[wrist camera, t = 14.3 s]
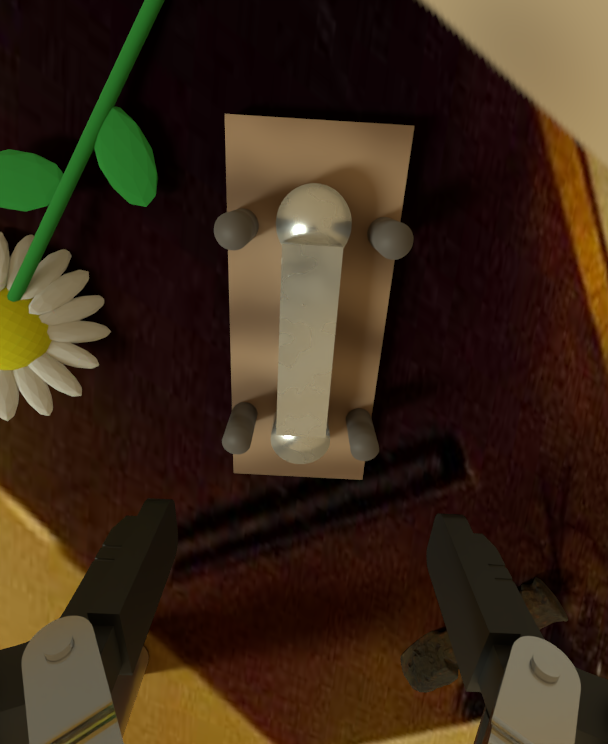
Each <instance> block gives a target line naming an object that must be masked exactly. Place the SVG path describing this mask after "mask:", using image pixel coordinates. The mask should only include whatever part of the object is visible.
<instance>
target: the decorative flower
mask: <svg viewBox="0 0 608 744" xmlns="http://www.w3.org/2000/svg"><path fill="white" fill-rule="evenodd" d="M164 1H165V0H145V1H144V3H143V5H142V7H141V9H140V11H139V13H138V16H137V18H136V20H135V22H134V24H133V26H132V28H131V31H130V33H129V35H128V37H127V39H126V41H125V43H124V46H123V48H122V50H121V52H120V54H119V56H118V58H117V61H116V63H115V65H114V67H113V69H112V71H111V74H110V76H109V78H108V80H107V82H106V84H105V86H104V89H103V91H102V93H101V95H100V97H99V99H98V101H97V104H96V106H95V108H94V110H93V112H92V114H91V116H90V119H89V121H88V123H87V125H86V127H85V129H84V131H83V134H82V136H81V138H80V140H79V142H78V144H77V146H76V149H75V151H74V153H73V155H72V157H71V159H70V161H69V164H68V166H67V168H66V170H65V172H64V174H63V173H62V171H61V170H60V169H59V167H58V166H57V164H55V163H53V162H51V161H49V160H47V159H45V158H43V157H41V156H39V155H36V154H33V153H28V152H22V151H16V150H11V149H8V150H4V151H0V207H1V208H7V209H13V210H20V211H29V210H33V209H37V208H41V207H45V206H48V209H47V211H46V213H45V215H44V217H43V219H42V221H41V224H40V226H39V228H38V230H37V232H36V234H35V236H33V235H28V236H25V237H24V238H23V239H22V240H21V241H20V242H18V243H17V245H16V247H15V249H14V251H13V253H12V255H11V257H10V256H9V248H8V242H7V241H6V239H5V237H4V235H3V233H2V232H0V418H2V419H4V420H6V421H8V420H10V419H11V418H12V417H13V416H14V415H15V412H16V409H17V406H18V399H19V390H20V392H21V393H22V395H23V396H24V397H25V399H26V400H27V402H28V403H29V404H30V405H31V406H32V407H33V408H34V409H35V410H36V411H37V412H38V413H40V414H42V415H47V416H49V415H50V414H51V412H52V410H53V403H52V396H51V393H50V391H49V388H48V385H47V384H49V385H50V386H52V387H53V388H55V389H56V390H58V391H60V392H63V393H65V394H68V395H70V396H72V397H74V396H81V394H82V388H81V386H80V384H79V383H78V381H77V379H76V378H75V377H74V376H73V375H72V374H71V372H70V371H69V370H68V369H67V368H66V367H65V366H64V365H63V364H65V365H69V366H73V367H78V368H90V369H92V368H94V367H97V366H99V363H98V361H97V359H96V358H95V357H94V356H93V355H92V354H90V353H89V352H88V351H86V350H84V349H82V348H80V347H78V346H76V345H74V344H72V343H82V342H91V341H97V340H100V339H102V338H105V337H107V336H108V335H109V334H110V333H111V331H110V330H109V329H108V328H107V327H106V326H104V325H101V324H98V323H95V322H88V321H80V320H82V319H84V318H86V317H88V316H90V315H92V314H94V313H95V312H97V311H98V310H99V309H100V308H101V307H102V306H103V304H104V298H102V297H101V296H99V295H92V296H81V297H76V298H74V297H75V296H76V295H77V294H78V293H79V292H80V291H81V290H82V289H83V288H84V286H85V285H86V283H87V282H88V280H89V272H88V271H84V270H77V271H73V272H70V273H67V274H64V275H62V274H63V272H64V271H65V270H66V269H67V266H68V264H69V262H70V259H71V257H72V256H71V254H70V252H69V251H67V250H65V249H62V250H59V251H56V252H54V253H51V254H49V255H48V256H47V257H46V258H44V259H43V260H42V261H41V262H40V260H41V258H42V256H43V254H44V252H45V250H46V248H47V245H48V243H49V241H50V239H51V237H52V235H53V233H54V231H55V229H56V227H57V225H58V222H59V220H60V218H61V216H62V214H63V212H64V210H65V208H66V206H67V204H68V202H69V199H70V197H71V195H72V193H73V191H74V189H75V187H76V185H77V183H78V181H79V178H80V176H81V174H82V172H83V170H84V168H85V166H86V164H87V162H88V160H89V158H90V155H91V153H92V151H93V149H95V153H96V156H97V160H98V164H99V167H100V169H101V170H102V172H103V173H104V175H105V176H106V178H107V179H108V181H109V183H110V184H111V186H112V187H113V188H114V189H115V190H116V191H117V192H118V193H119V194H120V195H121V196H122V197H123V198H124V199H126V200H127V201H128V202H129V203H130V204H134V205H139V206H145V207H147V205H148V204H149V203H150V202H151V201H152V199H153V198H154V197H155V196H156V190H157V181H158V175H157V170H156V165H155V161H154V156H153V151H152V148H151V146H150V145H149V143H148V141H147V139H146V138H145V136H144V134H143V133H142V131H141V129H140V128H139V126H138V125H137V124H136V122H135V121H134V120H132V119H131V118H130V117H129V116H128V115H127V114H126V113H125V112H124V111H123V110H122V109H121V108H119V107H115V106H114V105H115V103H116V101H117V99H118V97H119V95H120V93H121V91H122V88H123V86H124V84H125V82H126V80H127V78H128V76H129V74H130V72H131V70H132V68H133V65H134V63H135V61H136V59H137V57H138V55H139V53H140V51H141V49H142V47H143V45H144V42H145V40H146V38H147V36H148V34H149V32H150V30H151V28H152V26H153V24H154V21H155V19H156V17H157V15H158V13H159V11H160V9H161V7H162V5H163V3H164ZM39 262H40V263H39ZM61 275H62V276H61ZM61 363H62V364H61Z"/></svg>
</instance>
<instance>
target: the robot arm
mask: <svg viewBox="0 0 608 744" xmlns="http://www.w3.org/2000/svg"><path fill="white" fill-rule="evenodd" d="M177 546H178V531H177V521H176V512H175V503H174V501H173V500H169V499H149V498H148V499H147V500H146V501H145V502H144V504H143V506H142V508H141V510H140V512H139V514H138V516H126V517H125V518H124V519H122V520H121V521H120V522H119V523H118V524H117V525H116V526H115V527H113V528H112V529H111V531H110V533H109V535H108V536H107V538H106V540H105V542H104V543H103V546H102V548H100V550H99V552H98V554H97V555H96V557H95V561H93V562H92V564H91V566H90V568H89V569H88V571H87V573H86V574H85V576H84V578H83V580H82V581H81V583H80V585H79V587H78V588H77V590H76V592H75V594H74V595H73V597H72V599H71V600H70V602H69V604H68V606H67V607H66V609H65V611H64V612H63V614H62V615H61V617H60V618H59V619H57V620H55V621H53V622H51V623H49V624H48V625H46V626H45V627H43V628H42V629H41V630H40V631H39V632H37V633H36V635H35V636H34V637H33V638H32V639H31V640H30V641H28V642H26V643H23V644H20V645H17V646H13V647H10V648H6V649H2V650H0V744H124V743H123V740H122V738H123V735H124V732H125V729H126V726H127V723H128V720H129V717H130V714H131V711H132V708H133V705H134V702H135V700H136V697H137V694H138V691H139V688H140V685H141V682H142V679H143V676H144V673H145V670H146V667H147V664H148V660H149V656H148V652H147V650H146V648H145V647H144V646H143V645H144V642H145V639H146V637H147V634H148V631H149V628H150V626H151V623H152V620H153V617H154V614H155V612H156V609H157V606H158V603H159V601H160V598H161V595H162V592H163V589H164V587H165V584H166V581H167V578H168V576H169V573H170V570H171V567H172V565H173V562H174V559H175V556H176V552H177ZM427 567H428V571H429V574H430V578H431V581H432V584H433V587H434V590H435V594H436V597H437V600H438V603H439V606H440V609H441V613H442V616H443V619H444V622H445V625H446V629H447V632H448V635H449V638H450V641H451V644H452V648H453V651H454V654H455V657H456V660H457V664H458V667H459V670H460V673H461V676H462V680H463V683H464V686H465V689H466V691H469V692H481V693H482V695H483V698H484V701H485V704H486V707H485V709H484V712H483V715H482V718H481V722H480V725H479V728H478V731H477V735H476V738H475V741H474V744H608V680H606V679H604V678H601V677H598V676H595V675H593V674H590V673H587V672H585V671H582V670H580V669H578V668H576V667H574V665H573V664H572V663H571V661H570V660H569V659H568V658H567V656H566V655H565V654H564V653H563V652H562V651H561V650H559V649H558V648H557V647H556V646H554V645H553V644H551V643H550V642H548V641H546V640H544V638H543V636H542V634H541V633H540V631H539V629H538V627H537V625H536V623H535V621H534V619H533V617H532V615H531V614H530V612H529V610H528V608H527V606H526V604H525V602H524V600H523V598H522V596H521V594H520V592H519V591H518V589H517V587H516V585H515V583H514V582H513V581H512V577H511V575H510V573H509V571H508V570H507V568H505V564H504V562H503V560H502V558H501V556H500V554H499V552H498V550H497V548H496V547H495V546H494V545H493V544H492V543H491V542H490V541H489V540H488V539H487V538H486V537H485V536H484V535H483V534H473V532H472V530H471V528H470V526H469V523H468V521H467V519H466V518H465V516H463V515H457V514H437V515H436V517H435V520H434V524H433V528H432V532H431V536H430V539H429V543H428V547H427Z"/></svg>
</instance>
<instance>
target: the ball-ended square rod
mask: <svg viewBox="0 0 608 744" xmlns="http://www.w3.org/2000/svg"><path fill="white" fill-rule="evenodd" d="M351 227H352V220H351V213H350V210H349V207H348V205H347V203H346V201H345V200H344V198H343V197H342V196H341V195H340V194H339V193H338V192H337V191H336V190H334V189H333V188H331V187H329V186H327V185H324V184H318V183H310V184H305V185H301V186H299V187H297V188H295V189H294V190H292V191H291V192H290V193H289V194H288V195H287V196H286V197H285V198H284V200H283V201H282V203H281V205H280V207H279V209H278V212H277V217H276V231H277V235H278V239H279V241H280V243H281V245H282V259H281V292H280V324H279V356H278V388H277V410H276V412H275V414H274V419H273V425H272V432H271V445H272V448H273V450H274V451H275V453H276V454H277V455H278V456H279V457H281V458H282V459H284V460H285V461H287V462H290V463H294V464H307V463H311V462H314V461H316V460H318V459H319V458H321V457H322V456H323V455H324V454H325V453H326V451H327V450H328V448H329V444H330V432H329V420H328V406H329V395H330V385H331V374H332V363H333V353H334V342H335V332H336V321H337V310H338V300H339V289H340V279H341V268H342V257H343V248H344V247H345V245H346V243H347V242H348V239H349V237H350V233H351Z"/></svg>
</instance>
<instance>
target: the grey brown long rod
mask: <svg viewBox="0 0 608 744" xmlns="http://www.w3.org/2000/svg"><path fill="white" fill-rule="evenodd" d="M519 592H520V594H521V596H522V598H523V600H524V602H525V604H526V606H527V608H528V610H529V612H530V614H531V615H532V617H533V619H534V621H535V623H536V625H537V627H538V629H539V630H540V629H541V628H543V627H545V626H548V625H549V624H551V623H553V622H558V621H568V618H567V615H566V613H565V611H564V610H563V608H562V606H561V604H560V602H559V601H558V600H557V598H556V596H555V595H554V594H553V593H552V592H551V590H550V589H549V588H548V587H547V586H546V584H545V583H544V582H543V581H542V580H540V579H539V578H537V577H535V578H534V581H533V583H532V584H531V585H525V584H522V586H521V590H520V591H519ZM401 665H402V670H403V673H404V676H405V677H406V679H407V680H408V682H409V684H410V685H411V686H412V688H413V689H415V690H418V691H419V692H430V691H433V690H435V689H436V688H439V687H442V686H444V685H449V684H451V683H452V682H453V681H455V680H456V679H457V678H458V669H459V667H458V664H457V660H456V657H455V654H454V651H453V648H452V644H451V641H450V638H449V635H448V632H447V630H446V631H444V632H439V631H431V632H429V633H428V634H426V635H424V636H423V637H421V638H420V639H419V640H417V641H416V642H415V643H414V644H412V645H411V646H410V647H409V648H408V649H407V650H406V651H405V652H404V653H403V654H402V655H401Z"/></svg>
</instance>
